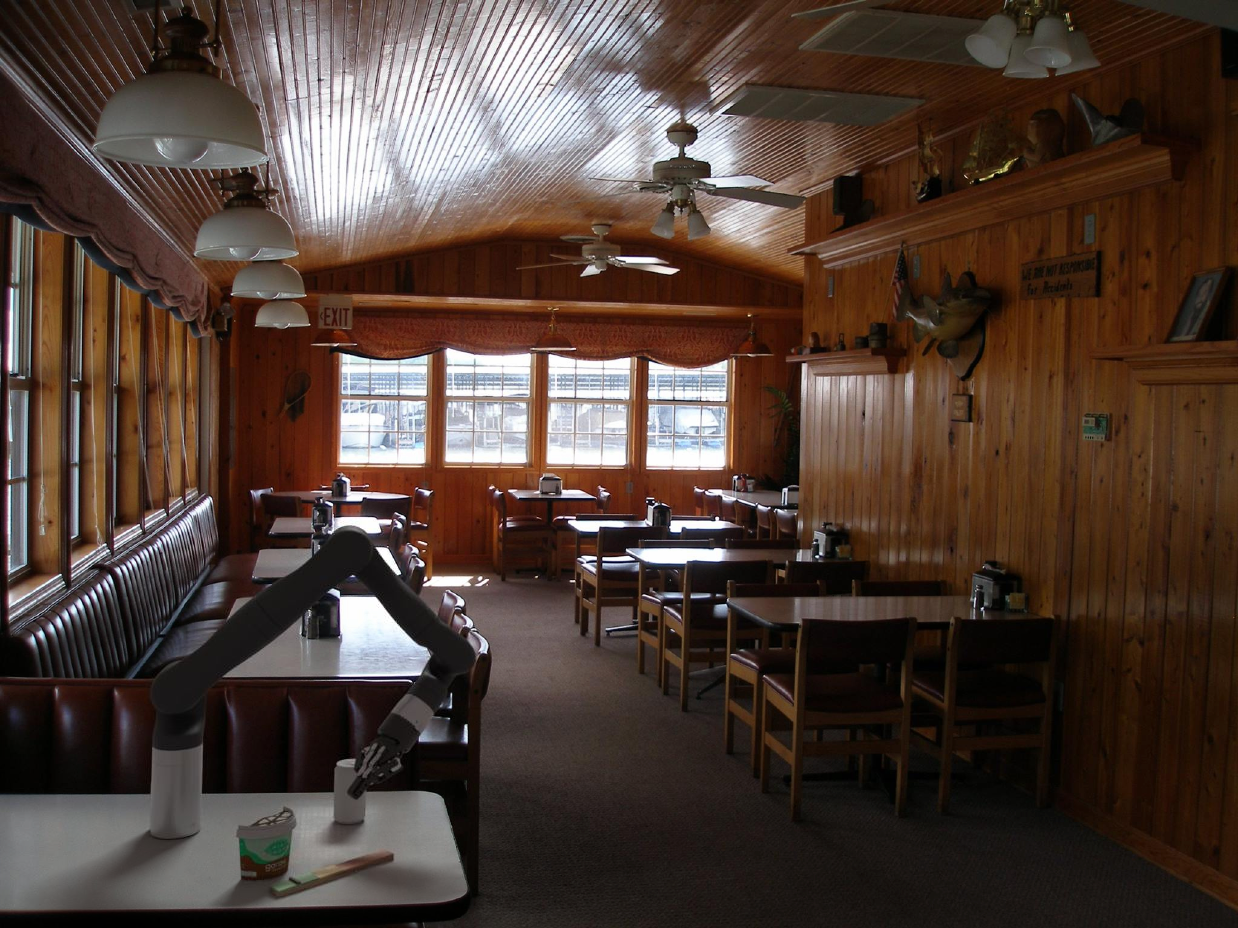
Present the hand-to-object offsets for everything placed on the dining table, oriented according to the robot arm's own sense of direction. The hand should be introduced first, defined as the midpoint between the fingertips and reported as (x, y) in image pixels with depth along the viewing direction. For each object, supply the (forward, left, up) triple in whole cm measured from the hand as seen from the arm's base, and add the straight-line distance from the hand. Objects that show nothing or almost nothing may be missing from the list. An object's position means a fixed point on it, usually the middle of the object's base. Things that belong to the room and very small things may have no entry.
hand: (351, 796), depth 205 cm
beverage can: (-13, +9, -10) cm, 19 cm away
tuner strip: (+9, -9, -10) cm, 16 cm away
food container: (0, -17, -10) cm, 19 cm away
